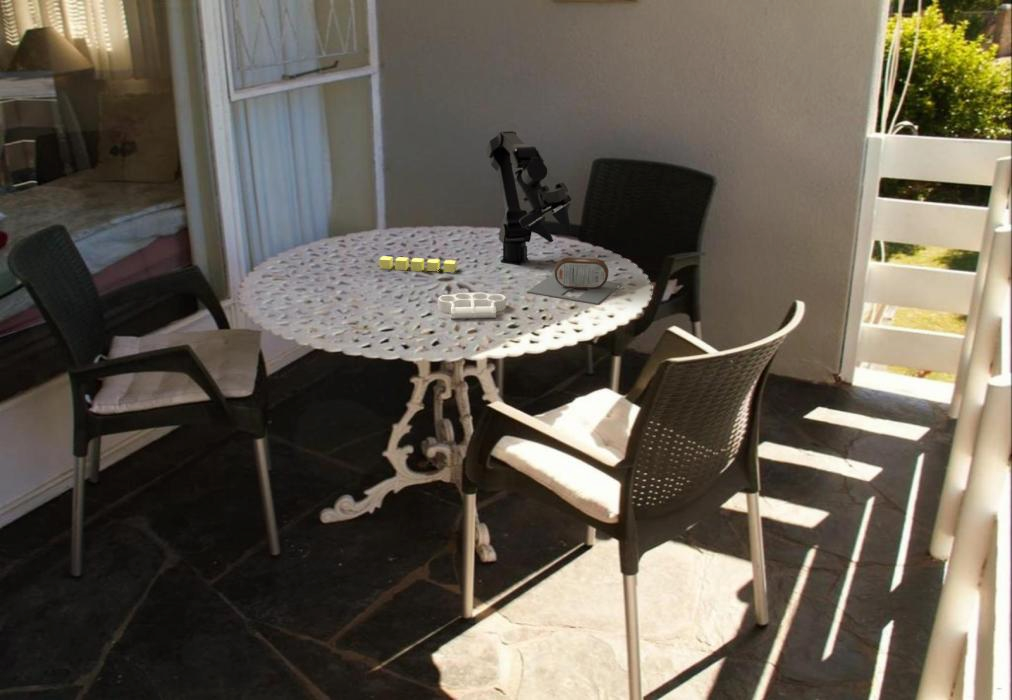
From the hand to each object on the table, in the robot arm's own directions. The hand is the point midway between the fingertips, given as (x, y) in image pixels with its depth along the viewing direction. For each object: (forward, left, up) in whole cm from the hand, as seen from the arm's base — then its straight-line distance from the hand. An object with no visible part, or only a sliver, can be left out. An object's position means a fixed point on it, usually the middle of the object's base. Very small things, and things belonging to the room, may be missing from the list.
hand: (561, 236), depth 286 cm
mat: (+7, -6, -13) cm, 16 cm away
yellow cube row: (-42, -9, -13) cm, 45 cm away
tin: (+9, -5, -13) cm, 16 cm away
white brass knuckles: (-10, -34, -13) cm, 38 cm away
